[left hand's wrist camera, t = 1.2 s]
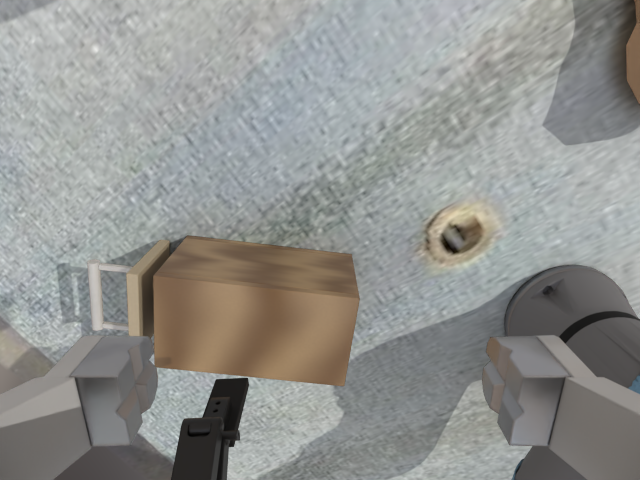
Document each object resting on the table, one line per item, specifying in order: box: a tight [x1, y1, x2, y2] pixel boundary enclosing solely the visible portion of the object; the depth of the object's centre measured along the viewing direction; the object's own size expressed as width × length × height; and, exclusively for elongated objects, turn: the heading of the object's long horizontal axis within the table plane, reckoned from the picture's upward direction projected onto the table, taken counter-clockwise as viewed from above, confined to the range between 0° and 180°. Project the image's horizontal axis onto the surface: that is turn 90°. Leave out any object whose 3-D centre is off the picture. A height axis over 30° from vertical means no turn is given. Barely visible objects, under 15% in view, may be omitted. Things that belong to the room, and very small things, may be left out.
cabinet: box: [153, 236, 360, 386], centre depth 51 cm, size 21×11×12 cm, turn 83°
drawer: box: [87, 240, 169, 339], centre depth 50 cm, size 25×10×10 cm, turn 83°
